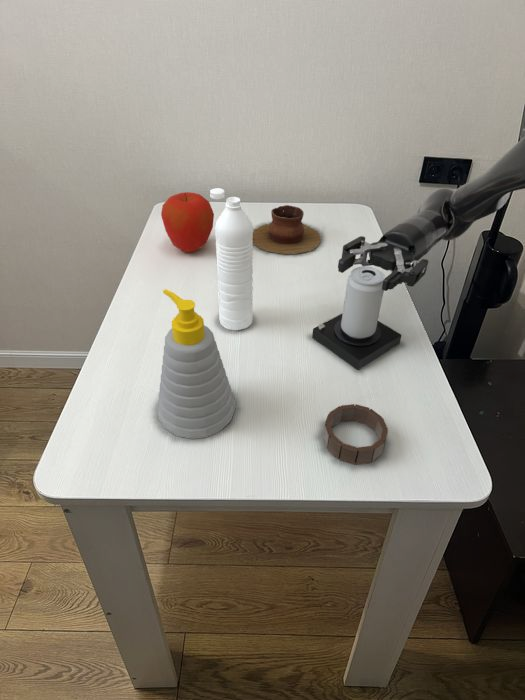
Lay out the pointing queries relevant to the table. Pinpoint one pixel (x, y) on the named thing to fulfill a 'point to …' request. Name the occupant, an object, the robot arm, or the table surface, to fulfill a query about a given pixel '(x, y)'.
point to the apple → (187, 220)
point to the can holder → (347, 451)
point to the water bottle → (234, 263)
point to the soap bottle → (193, 378)
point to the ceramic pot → (286, 232)
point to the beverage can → (362, 302)
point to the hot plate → (355, 342)
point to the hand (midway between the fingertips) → (361, 276)
